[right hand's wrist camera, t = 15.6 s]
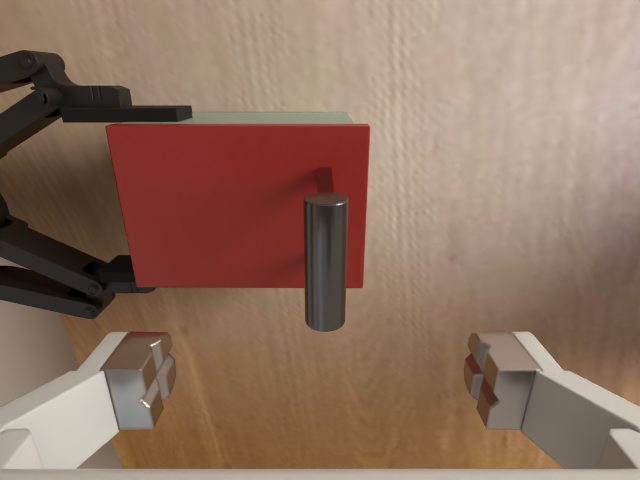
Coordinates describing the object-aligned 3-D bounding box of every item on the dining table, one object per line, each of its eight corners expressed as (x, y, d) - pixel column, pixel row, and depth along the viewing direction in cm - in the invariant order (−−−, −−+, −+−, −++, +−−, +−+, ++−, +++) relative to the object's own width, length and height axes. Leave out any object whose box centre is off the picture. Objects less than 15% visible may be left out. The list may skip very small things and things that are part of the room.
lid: (368, 123, 21) (394, 148, 14) (361, 279, 25) (378, 371, 17) (115, 123, 21) (-5, 148, 14) (144, 278, 25) (62, 369, 17)
